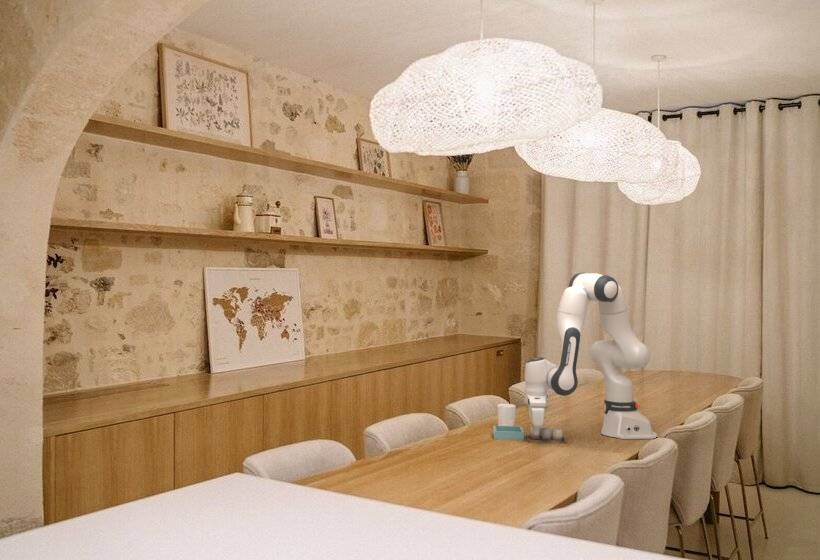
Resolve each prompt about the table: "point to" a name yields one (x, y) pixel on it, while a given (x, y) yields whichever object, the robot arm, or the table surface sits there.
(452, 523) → the table surface
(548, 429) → the pebble
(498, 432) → the teal square bin
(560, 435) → the pebble
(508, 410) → the white cup
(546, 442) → the tray
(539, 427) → the pebble
